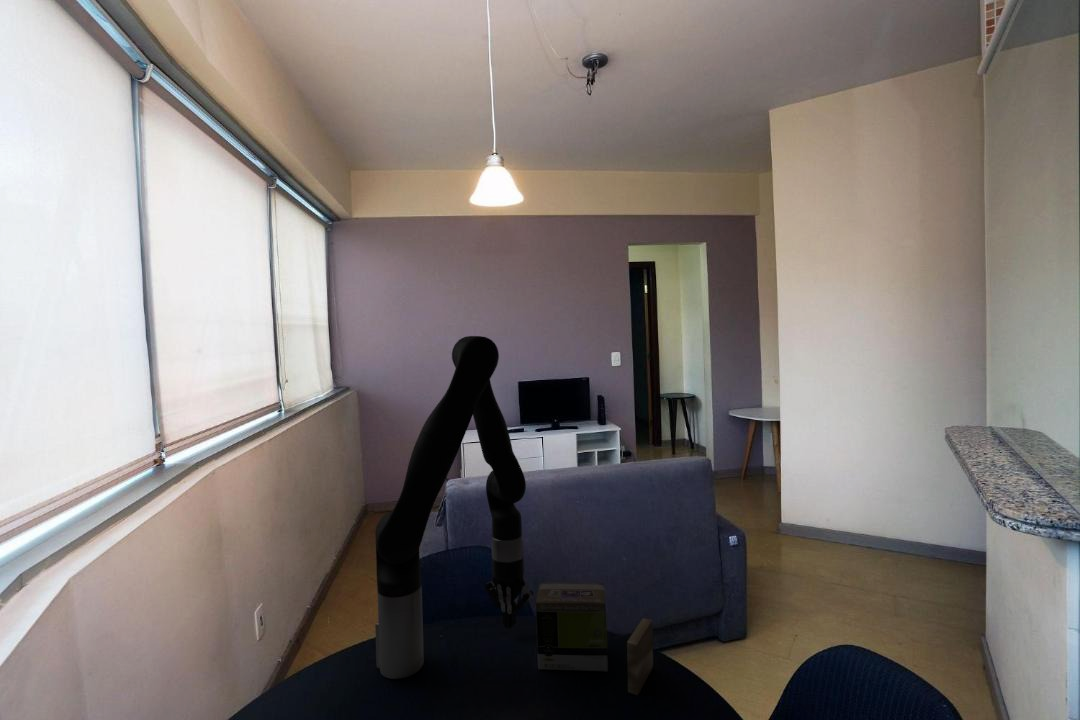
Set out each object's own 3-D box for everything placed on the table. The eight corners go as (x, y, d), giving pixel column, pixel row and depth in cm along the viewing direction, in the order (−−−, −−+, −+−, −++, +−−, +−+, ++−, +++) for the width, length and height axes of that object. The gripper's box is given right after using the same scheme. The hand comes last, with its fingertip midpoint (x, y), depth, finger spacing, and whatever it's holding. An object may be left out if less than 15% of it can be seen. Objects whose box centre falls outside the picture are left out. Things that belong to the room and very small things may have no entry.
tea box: (606, 645, 114) (605, 581, 114) (608, 673, 104) (606, 603, 104) (541, 643, 116) (539, 580, 116) (536, 671, 106) (535, 601, 106)
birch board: (627, 692, 99) (626, 642, 98) (644, 664, 107) (643, 618, 107) (637, 695, 98) (636, 644, 97) (653, 666, 106) (652, 620, 106)
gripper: (475, 554, 118) (477, 627, 119) (523, 565, 112) (525, 642, 112) (493, 543, 125) (495, 612, 125) (539, 553, 118) (541, 625, 119)
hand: (509, 626), depth 119 cm, fingers closed
